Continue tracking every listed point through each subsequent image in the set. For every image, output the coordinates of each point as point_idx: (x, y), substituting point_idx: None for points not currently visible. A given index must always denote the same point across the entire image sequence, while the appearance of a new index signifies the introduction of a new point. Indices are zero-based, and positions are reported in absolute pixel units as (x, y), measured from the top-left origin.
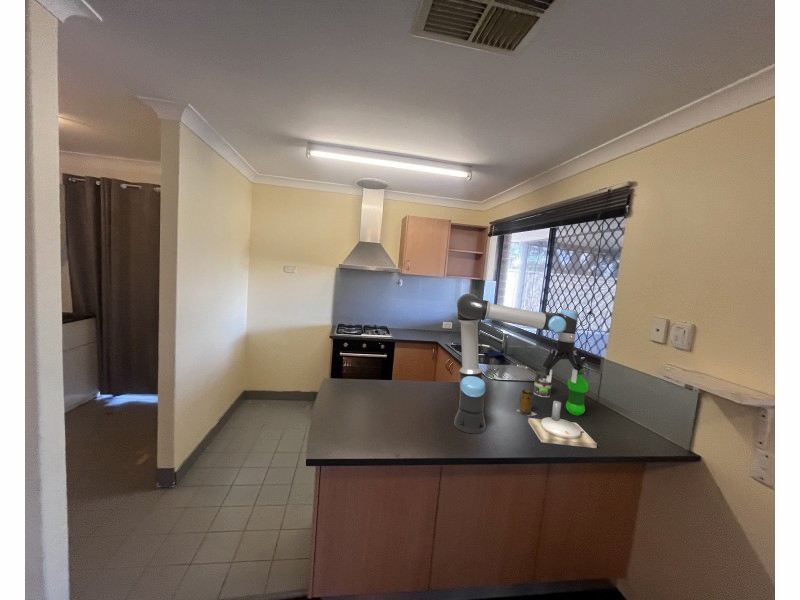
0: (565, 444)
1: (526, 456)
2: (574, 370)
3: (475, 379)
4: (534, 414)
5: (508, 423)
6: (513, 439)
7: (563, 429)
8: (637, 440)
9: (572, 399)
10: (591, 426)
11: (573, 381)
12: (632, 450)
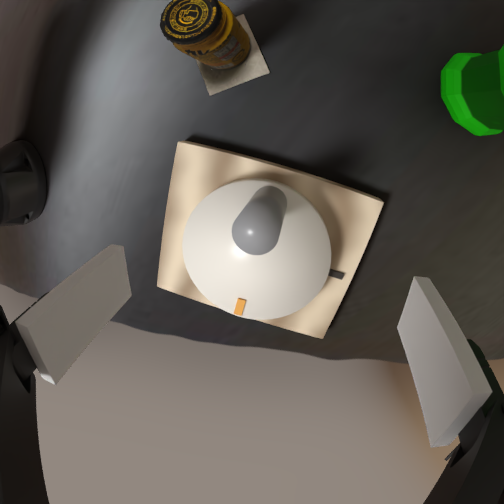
0: None
1: None
2: (445, 418)
3: None
4: (255, 73)
5: (108, 157)
6: (95, 254)
7: (242, 286)
8: (487, 305)
9: (475, 96)
10: (443, 207)
11: (406, 316)
12: None
